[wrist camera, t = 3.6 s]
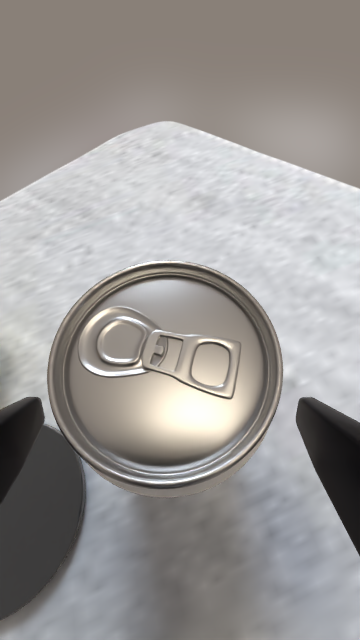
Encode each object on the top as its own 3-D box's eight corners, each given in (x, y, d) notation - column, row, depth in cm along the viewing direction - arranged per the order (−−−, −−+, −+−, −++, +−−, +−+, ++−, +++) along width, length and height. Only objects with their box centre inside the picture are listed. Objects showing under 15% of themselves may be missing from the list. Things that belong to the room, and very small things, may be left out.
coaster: (-28, 681, 11) (-36, 690, 11) (-110, 519, 14) (-120, 522, 13) (117, 493, 14) (115, 495, 14) (28, 392, 17) (23, 391, 17)
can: (145, 355, 18) (96, 231, 8) (229, 376, 17) (306, 272, 7) (113, 448, 15) (-38, 459, 5) (212, 478, 15) (298, 573, 4)
